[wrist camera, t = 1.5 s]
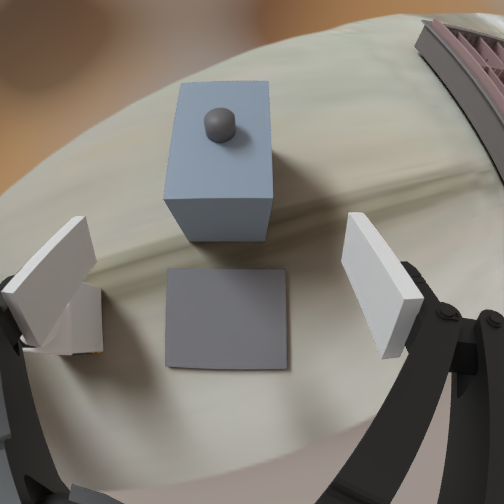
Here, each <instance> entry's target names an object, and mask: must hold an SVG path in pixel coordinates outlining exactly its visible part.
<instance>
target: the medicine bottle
mask: <svg viewBox="0 0 504 504" xmlns="http://www.w3.org/2000/svg"><path fill="white" fill-rule="evenodd" d="M14 276H15V275H13V276H9V277H7V278H6V279H5V280H3V281H2V283H1V284H0V292H1V290H2V289H3V288H4V287H5V286H6V285H7V283H8V282H9V281H11V279H12V278H13V277H14ZM19 342H20V343H21V346H22V349H23V352H32V353H43V354H56V355H82V354H93V353H102V352H103V350H104V349H103V333H102V309H101V289H100V288H99V287H96V286H93V285H90V284H87V283H85V282H82V284H81V285H80V286H79V288H78V289H77V291H76V292H75V294H74V295H73V297H72V298H71V300H70V301H69V303H68V304H67V306H66V307H65V309H64V311H63V312H62V314H61V315H60V317H59V318H58V320H57V322H56V323H55V325H54V326H53V328H52V330H51V331H50V333H49V335H48V336H47V338H46V340H45V341H44V343H43V345H42V346H41V348H40V347H35V346H30V345H28V344H27V342H26V340H25V339H24V337H23V335H22V336H21V337H20V339H19Z"/></svg>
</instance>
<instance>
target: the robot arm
mask: <svg viewBox="0 0 504 504" xmlns="http://www.w3.org/2000/svg"><path fill="white" fill-rule="evenodd" d="M96 262H97V260H96V256H95V253H94V249H93V245H92V241H91V237H90V233H89V229H88V225H87V220H86V216H75V217H73V218H72V219H71V220H70V221H69V222H67V223H66V224H65V225H64V226H63V227H62V228H61V229H60V230H59V231H58V232H57V233H56V234H55V235H54V236H53V237H52V238H51V239H50V240H49V241H48V242H47V243H46V244H45V245H44V246H43V247H42V248H41V249H40V250H39V251H38V252H37V253H36V254H35V255H34V256H33V257H32V258H31V259H30V260H29V261H28V262H27V263H26V264H25V265H24V266H23V267H22V268H21V269H20V270H19V271H18V272H17V273H16V275H15V276H14V277H13V278H12V279H11V281H9V282H8V283H7V285H6V286H5V287H4V288H3V289H2V290H1V292H0V504H123V503H121V502H119V501H117V500H116V499H114V498H112V497H110V496H108V495H106V494H103V493H99V492H96V491H92V490H89V489H86V488H83V487H79V486H76V485H73V484H72V487H71V491H70V490H69V489H68V488H67V487H66V485H65V484H64V483H63V482H62V480H61V479H60V477H59V475H58V473H57V470H56V468H55V465H54V463H53V460H52V458H51V455H50V452H49V449H48V447H47V444H46V441H45V438H44V435H43V432H42V429H41V425H40V422H39V419H38V415H37V412H36V408H35V405H34V401H33V397H32V393H31V389H30V384H29V380H28V375H27V371H26V366H25V360H24V355H23V349H22V346H21V343H20V342H19V339H20V337H21V336H22V335H23V337H24V339H25V340H26V342H27V344H28V345H30V346H35V347H40V348H41V346H42V345H43V343H44V341H45V340H46V338H47V336H48V335H49V333H50V331H51V330H52V328H53V326H54V325H55V323H56V322H57V320H58V318H59V317H60V315H61V314H62V312H63V311H64V309H65V307H66V306H67V304H68V303H69V301H70V300H71V298H72V297H73V295H74V294H75V292H76V291H77V289H78V288H79V286H80V285H81V284H82V282H83V281H84V279H85V278H86V276H87V275H88V273H89V272H90V271H91V269H92V268H93V266H94V265H95V264H96ZM341 262H342V265H343V267H344V269H345V271H346V274H347V276H348V278H349V280H350V283H351V285H352V287H353V290H354V292H355V294H356V297H357V299H358V302H359V304H360V306H361V309H362V311H363V314H364V316H365V319H366V321H367V323H368V326H369V328H370V331H371V334H372V336H373V339H374V341H375V344H376V346H377V349H378V352H379V354H380V357H381V359H389V358H397V357H400V356H401V353H402V351H403V349H404V347H406V349H407V351H408V353H409V354H408V357H407V359H406V361H405V363H404V365H403V367H402V369H401V371H400V373H399V375H398V377H397V379H396V381H395V383H394V385H393V386H392V388H391V390H390V392H389V394H388V396H387V397H386V399H385V401H384V403H383V405H382V406H381V408H380V410H379V412H378V413H377V415H376V417H375V418H374V420H373V422H372V423H371V425H370V427H369V428H368V430H367V431H366V433H365V435H364V436H363V438H362V439H361V441H360V442H359V444H358V445H357V447H356V449H355V450H354V452H353V453H352V455H351V456H350V457H349V459H348V460H347V462H346V463H345V465H344V466H343V467H342V469H341V470H340V472H339V473H338V474H337V476H336V477H335V478H334V480H333V481H332V482H331V484H330V485H329V486H328V488H327V489H326V490H325V491H324V493H323V494H322V495H321V496H320V498H319V499H318V500H317V501H316V503H315V504H390V503H391V501H392V499H393V497H394V496H395V494H396V492H397V490H398V489H399V487H400V485H401V483H402V482H403V480H404V478H405V476H406V474H407V472H408V470H409V468H410V466H411V464H412V462H413V460H414V458H415V456H416V454H417V452H418V450H419V448H420V445H421V443H422V441H423V439H424V436H425V434H426V432H427V429H428V427H429V425H430V422H431V420H432V417H433V414H434V412H435V410H436V407H437V404H438V401H439V399H440V396H441V393H442V390H443V387H444V384H445V381H446V378H447V375H448V372H452V382H451V383H452V384H451V408H450V424H449V433H448V443H447V451H446V459H445V466H444V472H443V477H442V483H441V489H440V493H439V498H438V502H437V504H504V317H503V316H502V315H501V314H500V313H498V312H496V311H493V310H487V309H486V310H483V311H482V312H481V313H480V315H479V317H478V319H477V320H474V319H467V318H462V316H461V314H460V312H459V311H458V310H457V309H456V308H455V307H453V306H452V305H450V304H447V303H444V302H440V301H439V300H438V298H437V297H436V296H435V294H434V293H433V291H432V290H431V288H430V287H429V285H428V284H427V283H426V281H425V280H424V278H423V277H421V274H420V273H419V272H418V270H417V269H416V268H415V267H414V266H412V265H411V264H410V263H408V262H407V261H406V262H400V261H399V260H398V259H397V257H396V256H395V254H394V253H393V252H392V250H391V249H390V247H389V246H388V245H387V243H386V242H385V241H384V239H383V238H382V236H381V235H380V234H379V232H378V231H377V230H376V229H375V227H374V226H373V225H372V223H371V222H370V221H369V219H368V218H367V217H366V215H365V214H364V213H358V212H349V213H348V220H347V227H346V234H345V241H344V247H343V254H342V260H341Z"/></svg>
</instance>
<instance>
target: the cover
mask: <svg viewBox="0 0 504 504" xmlns="http://www.w3.org/2000/svg"><path fill="white" fill-rule="evenodd" d="M163 199H164V201H165V203H166V205H167V206H168V208H169V210H170V211H171V213H172V215H173V216H174V218H175V219H176V221H177V223H178V224H179V226H180V228H181V229H182V231H183V233H184V234H185V236H186V237H187V239H188V241H189V242H265V239H266V234H267V228H268V223H269V218H270V213H271V207H272V202H273V175H272V148H271V124H270V102H269V82H268V81H212V82H193V83H181V86H180V91H179V96H178V102H177V107H176V113H175V119H174V125H173V131H172V137H171V144H170V151H169V158H168V165H167V173H166V181H165V189H164V198H163Z"/></svg>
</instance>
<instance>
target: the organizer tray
mask: <svg viewBox="0 0 504 504" xmlns="http://www.w3.org/2000/svg"><path fill="white" fill-rule="evenodd" d="M421 21H422V22H423V23H424V24H425V26H424V28H423V30H422V32H421V34H420V36H419V38H418V40H417V42H416V44H415V46H414V47H415V48H416V49H417V50H418V51H419V52H420V53H421V55H422V56H423V57H424V58H425V59H426V61H427V62H428V63H429V64H430V65H431V67H432V68H433V69H434V70H435V72H436V73H437V74H438V76H439V77H440V78H441V79H442V81H443V82H444V83H445V85H446V86H447V87H448V89H449V90H450V92H451V93H452V94H453V96H454V97H455V99H456V100H457V101H458V103H459V104H460V106H461V107H462V109H463V110H464V112H465V113H466V115H467V116H468V118H469V120H470V121H471V123H472V124H473V126H474V128H475V129H476V131H477V133H478V134H479V136H480V138H481V139H482V141H483V143H484V144H485V146H486V148H487V150H488V152H489V153H490V155H491V157H492V159H493V161H494V163H495V165H496V167H497V169H498V171H499V173H500V175H501V177H502V179H503V181H504V39H501V38H498V37H494V36H491V35H488V34H484V33H481V32H477V31H473V30H469V29H465V28H461V27H457V26H452V25H448V24H443V23H441V22H440V21H439V20H438V19H437V18H436V17H435V18H434V20H433V22H432V21H426V20H421ZM453 96H452V97H453Z"/></svg>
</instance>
